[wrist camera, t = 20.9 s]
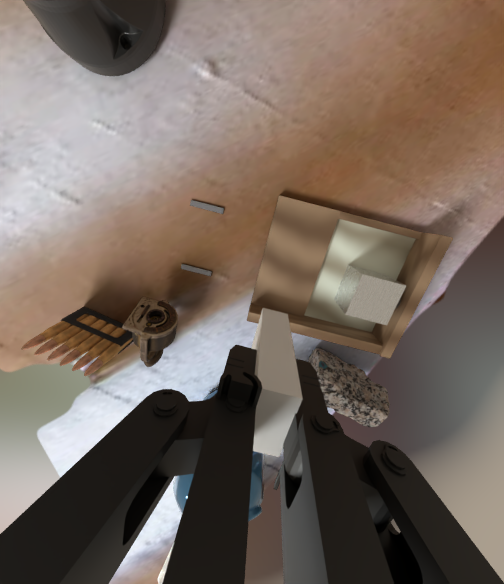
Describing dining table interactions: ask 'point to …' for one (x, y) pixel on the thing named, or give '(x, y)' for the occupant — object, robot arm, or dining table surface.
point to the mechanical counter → (152, 328)
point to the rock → (350, 389)
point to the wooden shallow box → (340, 272)
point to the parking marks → (210, 208)
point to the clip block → (369, 295)
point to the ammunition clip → (83, 339)
